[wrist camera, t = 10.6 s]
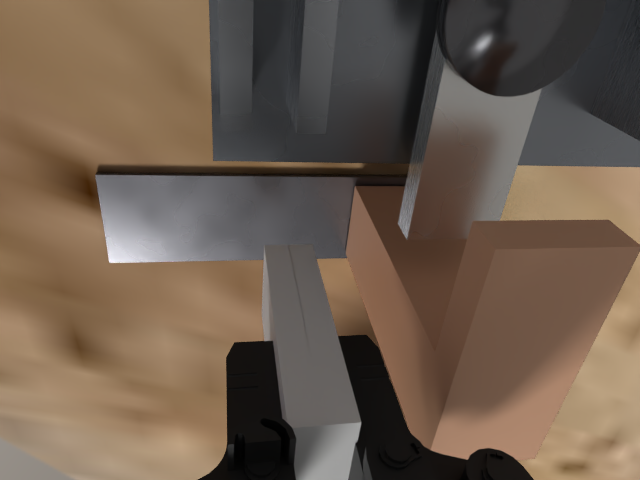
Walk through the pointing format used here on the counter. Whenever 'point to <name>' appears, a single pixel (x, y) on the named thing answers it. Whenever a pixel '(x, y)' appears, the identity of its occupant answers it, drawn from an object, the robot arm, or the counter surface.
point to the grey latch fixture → (343, 124)
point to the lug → (484, 318)
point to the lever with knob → (485, 105)
